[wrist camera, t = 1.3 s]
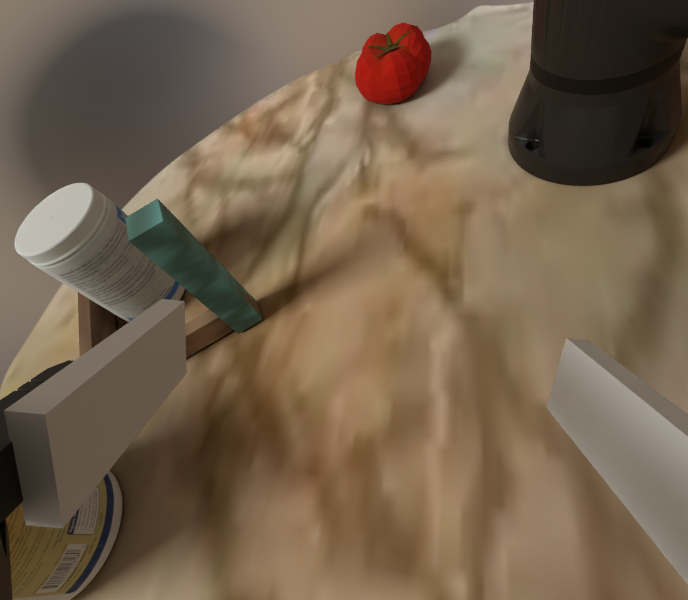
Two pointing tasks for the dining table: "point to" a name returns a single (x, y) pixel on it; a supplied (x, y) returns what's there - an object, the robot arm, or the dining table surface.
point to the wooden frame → (189, 271)
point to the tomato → (393, 64)
